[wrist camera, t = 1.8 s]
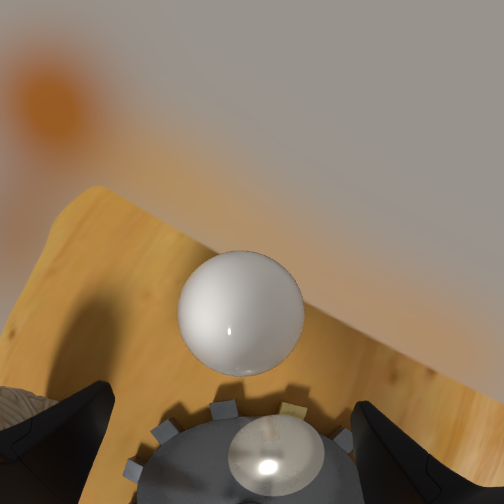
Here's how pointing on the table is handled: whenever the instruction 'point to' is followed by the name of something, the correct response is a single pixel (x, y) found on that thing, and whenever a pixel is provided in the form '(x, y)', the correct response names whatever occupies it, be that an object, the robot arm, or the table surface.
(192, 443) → the sprocket plate
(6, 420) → the carving
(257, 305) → the lightbulb
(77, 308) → the table surface
